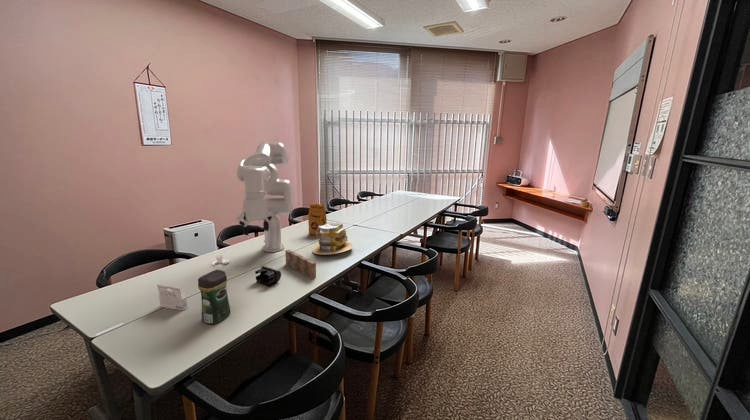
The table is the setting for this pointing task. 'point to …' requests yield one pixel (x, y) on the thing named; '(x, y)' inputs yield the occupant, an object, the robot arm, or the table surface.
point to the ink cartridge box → (172, 298)
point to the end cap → (267, 276)
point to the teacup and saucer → (220, 260)
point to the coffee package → (316, 217)
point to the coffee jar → (214, 296)
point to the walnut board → (301, 264)
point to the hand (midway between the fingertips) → (256, 232)
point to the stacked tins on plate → (332, 239)
